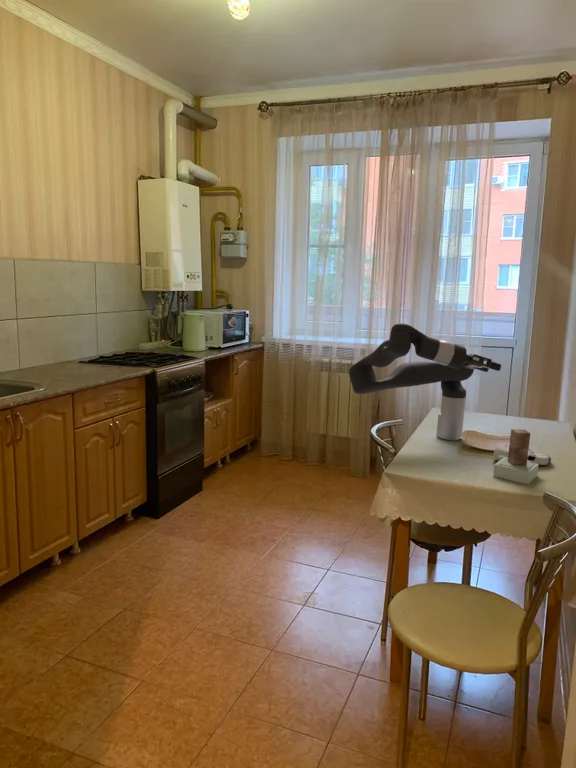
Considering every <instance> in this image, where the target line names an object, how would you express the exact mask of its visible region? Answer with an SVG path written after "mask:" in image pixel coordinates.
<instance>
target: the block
mask: <svg viewBox="0 0 576 768" xmlns="http://www.w3.org/2000/svg"><path fill="white" fill-rule="evenodd" d="M509 436H510V437H509V444H508V445H509V453H508V462H509V463H510V464H511V465H514V466H527V458H528V449H530V440H531V432H529V431H527V429H523V428H522V429H520V428H518V429H517V428H511V430H510V435H509Z"/></svg>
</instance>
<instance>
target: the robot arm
mask: <svg viewBox="0 0 576 768" xmlns="http://www.w3.org/2000/svg"><path fill="white" fill-rule="evenodd" d="M389 334H390V335H389V338H388V339H387V340H384V341H383V342H382V343H381V344H380V345H379V346H378V347H376V348H375V350H373V351H372V352H371V353H370V354H368V355H366V356H365V357H363V358H361V359H360V360H358V361H357V362H356V363H354V364H353V365H352V366H351V367H350V368H349V370H348V375H349V379H350V383H351V386H352V389H353V392H354V393H355V394H357V395H365V394H370V393H375V392H381V391H384V390H385V391H386V390H392V389H396V388H397V389H399V388H407V387H409V388H411V387H416V386H422V385H429V384H433V383H434V384H435V383H440V389H441V392H442V393H441V402H440V411H439V412H440V413H438V415H437V424H436V425H437V426H436V436H435V437H436V438H439V439H442V440H446V441H447V440H448V441H460V440H459V439H460V437H461V436H463V430H464V429H463V428H464V420H465V419H464V418H465V409H466V398H467V390H466V389H465V388H464V386H463V385H462V382H463V381H466V380H468V379H470V378H471V377H472V375H473V374H474V371H475V370H478V371H481V372H485V373H488V372H489V369H490V370H493V371H497V372H499V371H501V368H502V364H501V363H497V362H495V361H493V359H491V358H488V357H484V356H481V355H478V354H476V353H474V354H472V353H470V354H468V353H467V348H466V347H465V346H462V345H459V344H456V343H453V342H450V341H447V340H441V339H437V338H434V337H431V336H427V335H426V334H424V333H423V332H421V331H420V330H418V329H417V328H415V327H414V326H412V325H410V324H408V323H404V322H399V323H395V324H394V325H393V326H391V328H390V333H389ZM412 345H413V347H414V350H415V354H416V356H417V357H419V358H421V359H422V358H423V359H426V360H429V361H410V362H403V363H401V364H400V365H398V366H397V367H396V368H395V369H394V370H393V371H392V372H391V373H390V374H389V375H388V376H387V377H385V378H383V379H381V380H380V379H379V380H378V379H377V376H376V374H375V370H374V368H373V367H376V368H386V367H388V366H390V365H391V364H392V363H393V362H394V361H395V360H396V359H398V358H402V357H405V356H406V355H408V353H410V350H411V347H412ZM484 362H486V363H484Z"/></svg>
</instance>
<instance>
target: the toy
mask: <svg viewBox="0 0 576 768" xmlns="http://www.w3.org/2000/svg"><path fill="white" fill-rule="evenodd" d="M508 453H509V444H507V443H506V444H505V446H500V445H497V446H496V447H495V448H494V450H493V457H494V459H496V460H497V461H500V460H501V459H502V458H504V457H507V458H508ZM527 462H531V463H535V464H539V465H541V466H547V465H550V464H551V462H552V457H551V456H550V455H548V454H547V453H544V452H541V451H538V450H533V449H530V448H529V449H528V458H527ZM539 465H538V466H539Z"/></svg>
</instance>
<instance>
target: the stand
mask: <svg viewBox="0 0 576 768" xmlns="http://www.w3.org/2000/svg"><path fill="white" fill-rule="evenodd" d="M538 471H539V464H535V463H531V462H527V466H514V465H511V464H510V463H509V462H508V458H507V457H504V458H502V459H501V460H500V461H499V460H497V462H495V463H494V466H493V474H492V475H493V476H492V477H495V476H496V478H499V477H500V478H499V479H503V478H504V480H508V481H512V482H516V483H517V482H518V483H521V484H525V485H529V484H530V483H532V481H534V479H536V478H537V477H538V473H539V472H538Z"/></svg>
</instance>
